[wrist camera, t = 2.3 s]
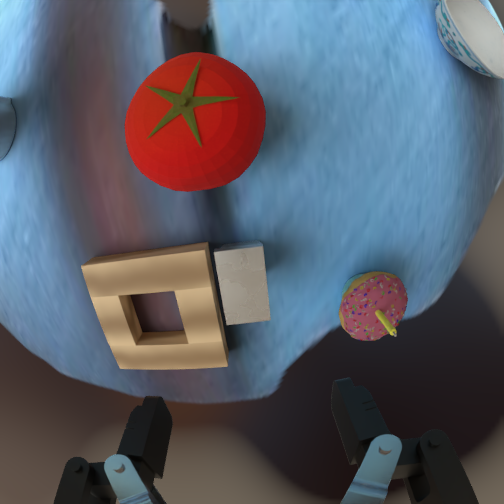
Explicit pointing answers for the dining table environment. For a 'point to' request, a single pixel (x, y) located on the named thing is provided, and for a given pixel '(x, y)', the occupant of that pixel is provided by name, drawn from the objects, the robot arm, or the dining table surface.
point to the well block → (159, 280)
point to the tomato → (195, 123)
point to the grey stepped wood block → (243, 282)
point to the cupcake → (372, 305)
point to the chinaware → (471, 35)
